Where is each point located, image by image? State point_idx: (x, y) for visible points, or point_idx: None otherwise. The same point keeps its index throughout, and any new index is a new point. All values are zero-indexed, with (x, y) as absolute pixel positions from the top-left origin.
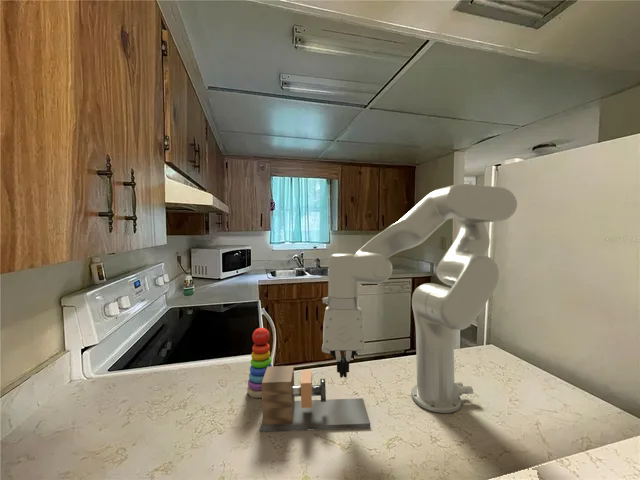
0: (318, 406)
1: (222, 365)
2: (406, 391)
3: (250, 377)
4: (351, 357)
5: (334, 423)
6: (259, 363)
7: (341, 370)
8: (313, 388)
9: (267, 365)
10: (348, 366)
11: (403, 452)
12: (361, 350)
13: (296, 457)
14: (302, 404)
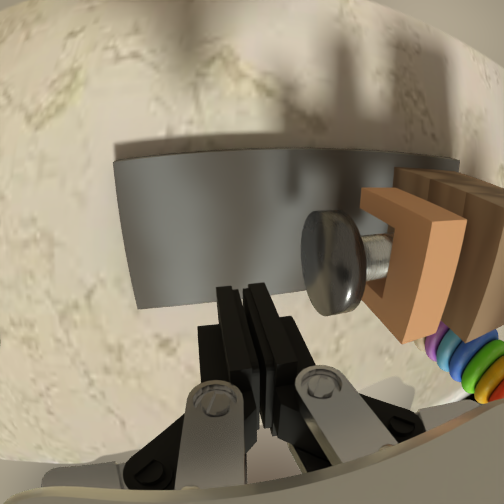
0: None
1: None
2: (15, 349)
3: None
4: (178, 423)
5: (256, 156)
6: (500, 349)
7: (267, 311)
8: (380, 251)
9: (477, 356)
10: (205, 354)
11: (37, 60)
12: (69, 483)
13: (369, 46)
14: (400, 190)
